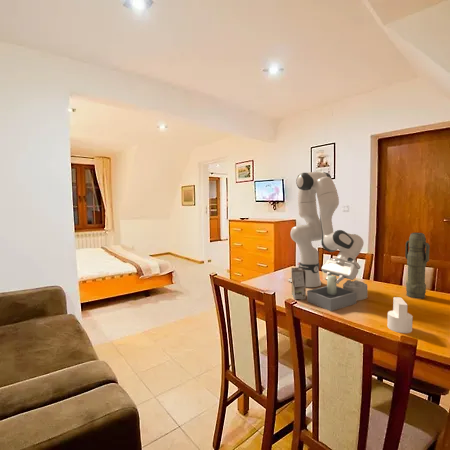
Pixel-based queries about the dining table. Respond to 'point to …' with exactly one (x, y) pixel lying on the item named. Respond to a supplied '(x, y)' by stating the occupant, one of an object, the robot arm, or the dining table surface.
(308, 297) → the tote
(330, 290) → the tin
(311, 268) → the robot arm
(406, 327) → the base with upright slab
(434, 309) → the dining table surface
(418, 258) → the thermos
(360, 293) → the lumpy-topped squat cylinder
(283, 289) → the dining table surface
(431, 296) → the dining table surface
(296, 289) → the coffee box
